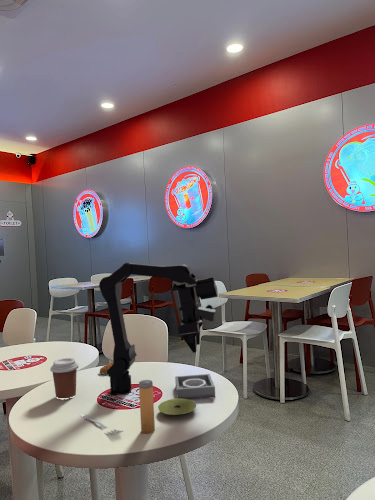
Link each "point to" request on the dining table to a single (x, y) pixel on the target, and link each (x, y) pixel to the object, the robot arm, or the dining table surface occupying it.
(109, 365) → the pastry
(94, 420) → the fork
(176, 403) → the olive green flat disc
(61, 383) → the coffee cup
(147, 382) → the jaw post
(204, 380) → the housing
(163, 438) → the dining table surface
